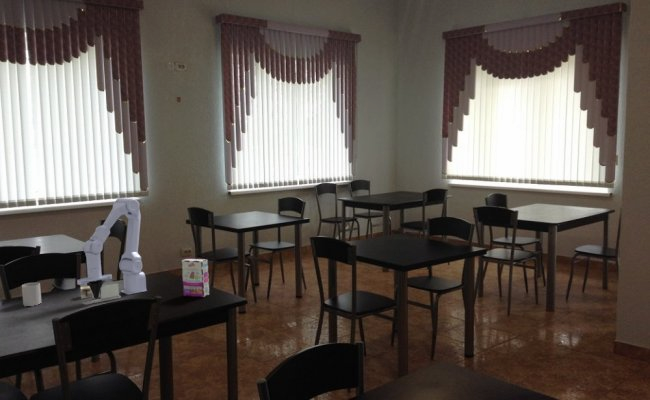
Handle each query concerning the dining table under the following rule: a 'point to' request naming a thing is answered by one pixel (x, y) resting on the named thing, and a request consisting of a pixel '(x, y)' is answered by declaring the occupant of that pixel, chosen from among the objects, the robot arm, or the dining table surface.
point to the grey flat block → (109, 291)
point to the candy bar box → (195, 277)
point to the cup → (31, 294)
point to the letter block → (86, 292)
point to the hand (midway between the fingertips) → (96, 297)
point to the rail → (100, 300)
